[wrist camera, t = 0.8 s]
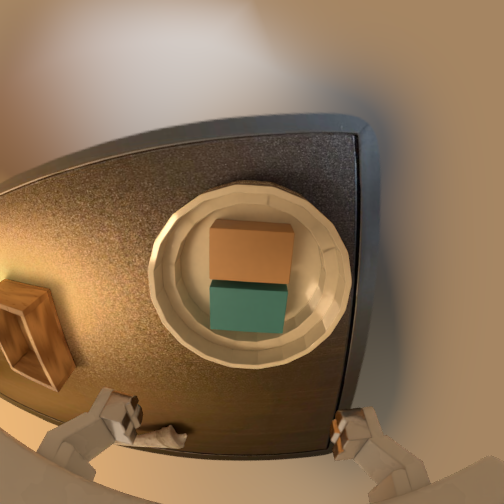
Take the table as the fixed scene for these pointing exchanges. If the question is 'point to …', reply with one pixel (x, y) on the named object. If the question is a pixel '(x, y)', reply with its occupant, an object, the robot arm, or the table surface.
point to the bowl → (299, 288)
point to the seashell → (159, 439)
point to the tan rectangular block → (250, 251)
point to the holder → (33, 335)
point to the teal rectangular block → (247, 306)
